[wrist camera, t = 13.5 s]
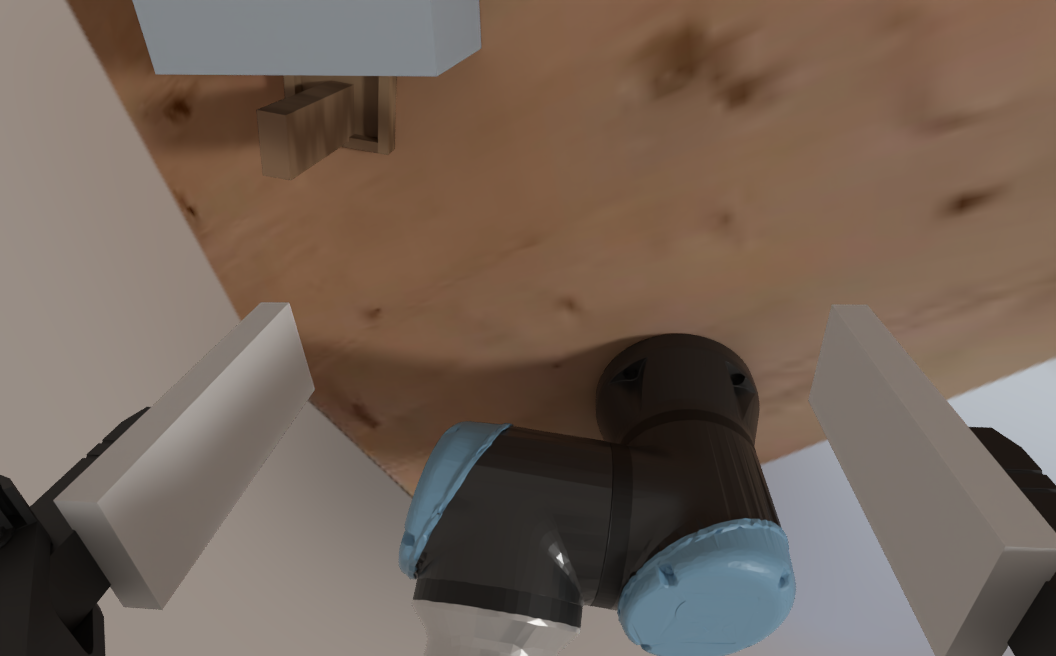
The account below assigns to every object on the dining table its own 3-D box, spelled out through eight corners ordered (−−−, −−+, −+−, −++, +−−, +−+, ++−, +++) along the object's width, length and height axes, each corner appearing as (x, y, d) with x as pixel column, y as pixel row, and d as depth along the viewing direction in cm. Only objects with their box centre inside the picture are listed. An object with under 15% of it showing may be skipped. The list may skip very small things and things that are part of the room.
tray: (395, 148, 47) (338, 196, 37) (298, 130, 47) (215, 174, 37) (402, -93, 39) (330, -116, 28) (284, -113, 39) (171, -144, 28)
